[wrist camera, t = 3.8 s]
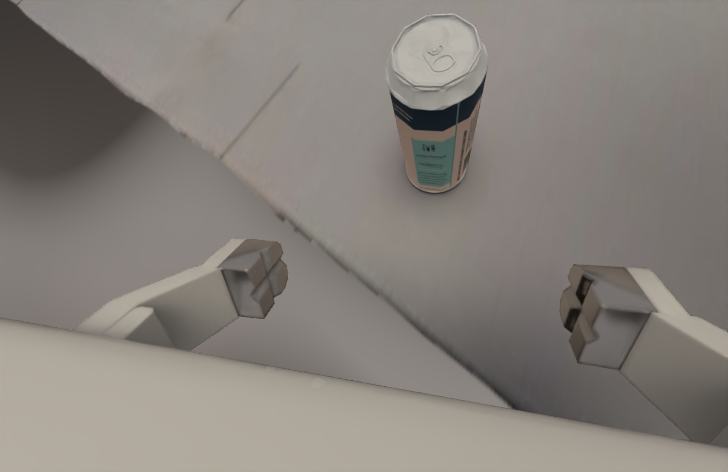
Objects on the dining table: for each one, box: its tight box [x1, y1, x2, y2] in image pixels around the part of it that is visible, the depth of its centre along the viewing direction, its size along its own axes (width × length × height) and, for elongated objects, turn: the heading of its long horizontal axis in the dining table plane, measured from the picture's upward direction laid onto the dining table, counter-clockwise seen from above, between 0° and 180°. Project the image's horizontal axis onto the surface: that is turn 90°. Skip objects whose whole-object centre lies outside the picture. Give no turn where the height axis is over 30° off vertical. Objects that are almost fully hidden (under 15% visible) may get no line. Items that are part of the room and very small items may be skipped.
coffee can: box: [385, 14, 488, 193], centre depth 20 cm, size 5×5×12 cm
